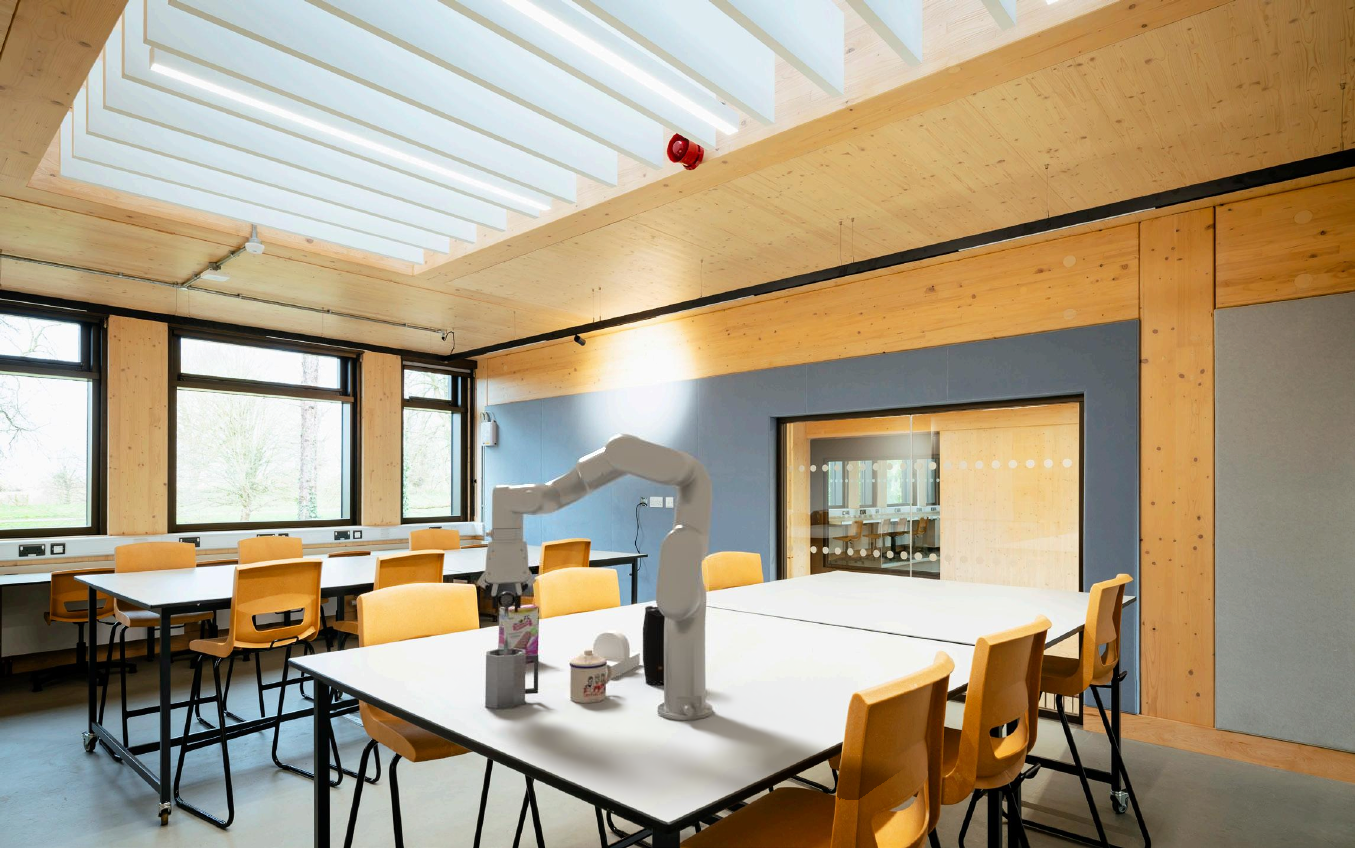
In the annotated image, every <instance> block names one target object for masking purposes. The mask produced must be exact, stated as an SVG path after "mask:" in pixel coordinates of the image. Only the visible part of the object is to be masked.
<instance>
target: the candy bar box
mask: <svg viewBox="0 0 1355 848" xmlns="http://www.w3.org/2000/svg"><path fill="white" fill-rule="evenodd" d="M498 613H499V615H498V616H499V617H498V643H497V644H498V645H497V647H498V648H497V649H503V648H504V608H503V607H498ZM539 622H540V606H538V605H536V604H523V605H522V604H521V608H518V612H515V605H512V606H511V607H509V619H508V648H518V649H525V652H526V655H534V654H538V655H539V633H540V632H539V630H540V629H539V628H540V626H539V625H540V623H539ZM530 661H534V660H526V662H529V663H531V662H530Z"/></svg>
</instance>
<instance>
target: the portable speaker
mask: <svg viewBox="0 0 1355 848" xmlns="http://www.w3.org/2000/svg"><path fill="white" fill-rule="evenodd" d="M644 612H645V613H644V618H643V626H642V664H643V671H644V677H645V684H647V685H649V686H654V685H655V683H664V622H665V616H664V615H663V614H662V613H661V612H660V611H659V609H658V607H657V606H653V605H648V606H645V608H644Z"/></svg>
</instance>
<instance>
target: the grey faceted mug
mask: <svg viewBox="0 0 1355 848" xmlns="http://www.w3.org/2000/svg"><path fill="white" fill-rule="evenodd" d="M499 655H504V648H503V649H498V648H496V649H491V650H488V651H487V650H486V652H485V691H484V692H485V694H484V697H485V701H484V702H485V704H484V705H485V708H487V707H488V709H492V708H493V710H507V709H508V708H510V709H515V708H518V706H519V707H521V705H522V706H525V705H526V695H530V694H531V695H532V694H539V653H538V654H534V655H526V652H525V649H518V648H508V656H499ZM526 660H534V662H533V687H532V688H529V687H528V688H526Z"/></svg>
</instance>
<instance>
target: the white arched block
mask: <svg viewBox="0 0 1355 848" xmlns="http://www.w3.org/2000/svg"><path fill="white" fill-rule="evenodd" d="M630 650H631V649H630V643H629V641H628V638H627V637H626V635H625V634H624V633H622V632H621V631H618V630H615V629H614V630H612V629H611V630H608V631H605V632H603V633H601V634H599V635H598V636H597V637H596V638H595V640H594V643H593V648H592V653H593V654H596V655H597V656H599V657H602V658H604V659H606V662H607V664H608V665H610V666H611V668H612V676H611V679H610V680H612V678H613V679H615V678H617V677H619V676H620V675H619V674H621V675H623V674H625V673H627V672H629V671H631V670H633V669H634V667H635V668H637V667H639V666H640V665H639V664H641V663H640V661H641V657H640V653H641V652H637V651H632V652H630ZM636 666H637V667H636ZM632 668H633V669H632ZM630 669H631V670H630ZM628 670H629V671H628ZM624 672H625V673H624ZM622 673H623V674H622ZM607 674H608V669H607V667H606V677H607ZM618 675H619V676H618ZM616 676H617V677H616ZM614 677H615V678H614Z"/></svg>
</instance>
